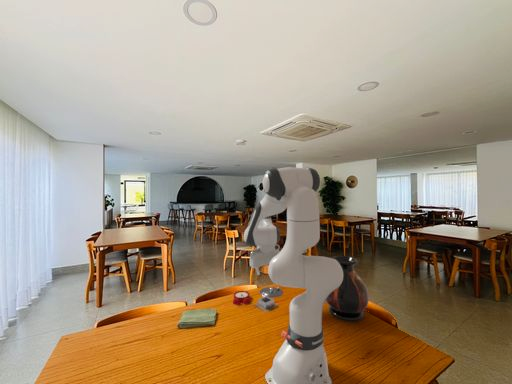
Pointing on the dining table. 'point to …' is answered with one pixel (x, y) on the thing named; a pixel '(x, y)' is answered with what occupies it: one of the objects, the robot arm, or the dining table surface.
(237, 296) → the alarm clock
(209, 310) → the washcloth
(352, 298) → the amphora vase
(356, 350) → the dining table surface
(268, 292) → the hub
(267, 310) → the stand
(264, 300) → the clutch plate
